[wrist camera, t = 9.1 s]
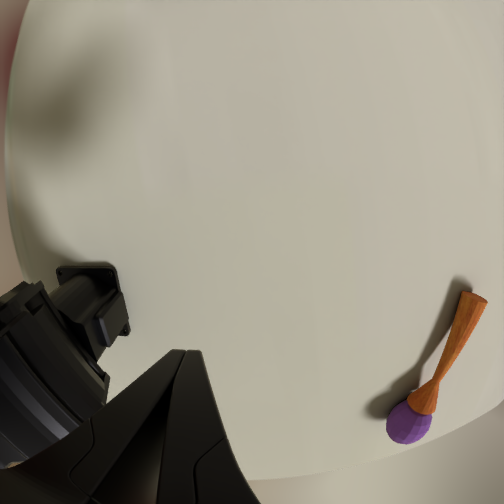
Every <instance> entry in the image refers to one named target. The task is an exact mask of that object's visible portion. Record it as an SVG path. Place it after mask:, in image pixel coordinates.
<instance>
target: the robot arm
mask: <svg viewBox="0 0 504 504" xmlns="http://www.w3.org/2000/svg"><path fill="white" fill-rule="evenodd" d="M60 271H61V272H62V273H61V272H60ZM109 271H111V272H112V275H111V274H110V273H109ZM56 274H57V278H58V282H59V285H60V286H59V287H58V288H56V289H55V290H54V291H53V292H52V293H50V294H49V295H48V294H47V292H46V291H45V289H44V285H43V283H42V281H41V280H40V281H39V282H38V283H36V284H35V285H34V284H33V282H32V283H31V284H28V283H26V282H25V281H23V282H21V283H20V284H19V285H17V286H16V287H14V288H13V289H12V290H10V291H9V292H7V293H6V294H4V295H2V296H1V297H0V504H261V503H260V502H259V500H258V499H257V497H256V496H255V494H254V493H253V491H252V489H251V488H250V486H249V484H248V483H247V481H246V479H245V477H244V475H243V474H242V472H241V470H240V468H239V466H238V463H237V461H236V459H235V456H234V454H233V451H232V449H231V446H230V443H229V440H228V439H227V435H226V432H225V429H224V426H223V423H222V420H221V417H220V413H219V410H218V407H217V404H216V401H215V397H214V394H213V391H212V387H211V384H210V381H209V377H208V374H207V370H206V366H205V363H204V359H203V355H202V352H201V351H200V350H187V351H186V350H181V349H172V350H170V351H169V352H168V353H167V354H166V355H165V356H163V357H162V358H161V359H160V360H159V361H157V362H156V363H155V364H154V365H153V366H152V367H150V368H149V369H148V370H147V371H146V372H144V373H143V374H142V375H141V376H140V377H138V378H137V379H136V380H135V381H134V382H132V383H131V384H130V385H129V386H128V387H126V388H125V389H124V390H123V391H122V392H120V393H119V394H118V395H117V396H116V397H114V398H113V399H112V400H111V401H109V402H108V403H107V404H106V400H107V394H108V388H109V382H110V376H109V375H108V374H107V373H106V372H104V371H103V370H102V369H101V368H100V366H99V365H98V364H97V361H98V360H99V358H100V357H101V355H102V353H103V352H104V350H105V349H106V347H111V345H112V344H113V342H114V341H115V339H116V338H117V336H128V335H129V333H130V331H131V329H130V326H129V322H128V319H129V317H128V313H127V309H126V305H125V301H124V296H123V293H122V292H121V289H120V284H119V280H118V275H117V271H116V269H115V268H114V267H112V266H60V267H58V268H57V269H56ZM123 329H124V330H126V331H124V330H123ZM12 463H20V464H18V465H16V466H13V467H10V468H7V467H8V466H10V465H11V464H12Z"/></svg>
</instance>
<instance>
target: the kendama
mask: <svg viewBox="0 0 504 504" xmlns="http://www.w3.org/2000/svg"><path fill="white" fill-rule="evenodd" d="M487 303H488V302H487V300H485V299H484V298H482V297H481V296H479V295H477V294H474V293H472V292H466V291H462V293H461V297H460V301H459V305H458V308H457V312H456V315H455V318H454V322H453V325H452V328H451V331H450V334H449V337H448V340H447V343H446V345H445V348H444V351H443V353H442V356H441V359H440V361H439V364H438V366H437V368H436V371H435V373H434V376H433V378H432V379H431V380H430V381H428V382H427V383H425V384H424V385H423V386H421V387H420V388H418V389H417V390H416V391H414V392H413V393H411V394H410V395H409V396H408V398H407V400H405V401H403V402H401V403H400V404H398V405H397V406H395V407H394V408H393V410H392V411H391V413H390V414H389V416H388V418H387V423H386V431H387V433H388V435H389V437H390V438H391V439H392V440H393V441H394V442H396V443H400V444H411V443H414V442H416V441H418V440H419V439H421V438H422V437H423V436H424V435H425V434H426V433H427V431H428V430H429V427H430V424H431V420H432V415H431V414H432V413H433V412H434V411H435V409H436V404H437V397H438V390H439V382H440V381H441V380H442V378H443V377H444V376H445V374H446V373H447V371H448V370H449V368H450V367H451V365H452V364H453V362H454V361H455V359H456V358H457V356H458V355H459V353H460V352H461V350H462V348H463V347H464V345H465V343H466V342H467V340H468V338H469V337H470V335H471V333H472V332H473V330H474V328H475V326H476V324H477V323H478V321H479V319H480V317H481V315H482V313H483V311H484V309H485V307H486V305H487Z"/></svg>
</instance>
